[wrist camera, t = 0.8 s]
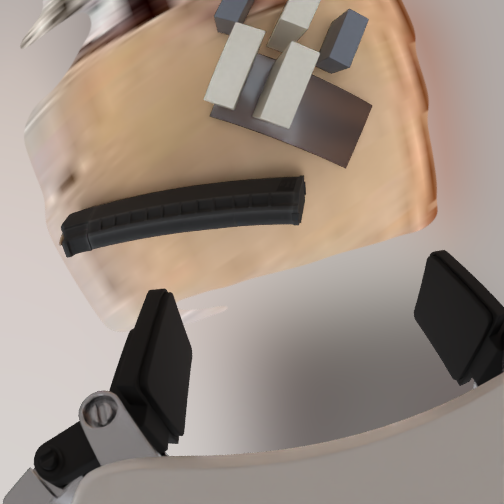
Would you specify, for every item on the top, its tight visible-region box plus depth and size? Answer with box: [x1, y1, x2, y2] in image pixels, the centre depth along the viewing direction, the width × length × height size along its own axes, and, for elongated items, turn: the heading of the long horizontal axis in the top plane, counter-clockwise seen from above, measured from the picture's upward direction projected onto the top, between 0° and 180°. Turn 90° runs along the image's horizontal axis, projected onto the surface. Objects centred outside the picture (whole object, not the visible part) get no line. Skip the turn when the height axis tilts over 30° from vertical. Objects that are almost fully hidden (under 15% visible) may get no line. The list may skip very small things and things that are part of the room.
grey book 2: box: [315, 9, 369, 74], centre depth 24 cm, size 7×2×6 cm, turn 160°
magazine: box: [59, 176, 306, 257], centre depth 30 cm, size 17×3×30 cm
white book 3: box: [252, 41, 320, 129], centre depth 23 cm, size 7×2×11 cm, turn 160°
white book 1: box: [204, 22, 266, 110], centre depth 22 cm, size 7×2×11 cm, turn 160°
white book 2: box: [267, 0, 321, 52], centre depth 20 cm, size 7×2×11 cm, turn 160°
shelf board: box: [210, 53, 372, 168], centre depth 30 cm, size 9×17×1 cm, turn 70°
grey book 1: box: [214, 0, 254, 35], centre depth 21 cm, size 7×2×6 cm, turn 160°
